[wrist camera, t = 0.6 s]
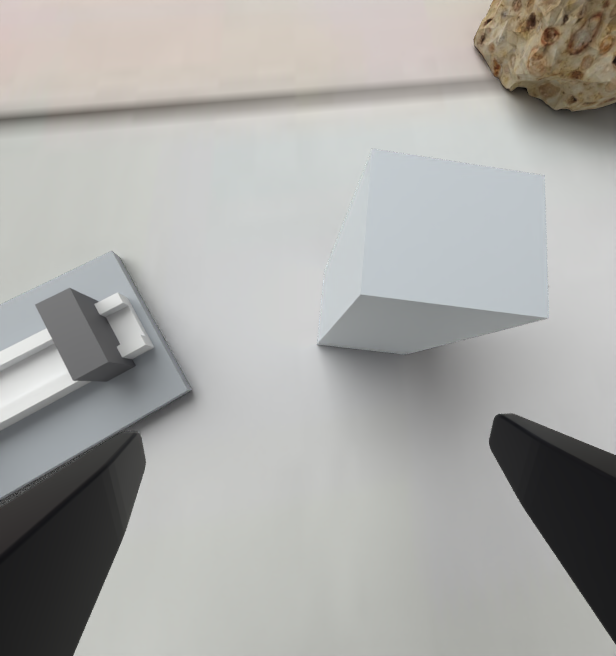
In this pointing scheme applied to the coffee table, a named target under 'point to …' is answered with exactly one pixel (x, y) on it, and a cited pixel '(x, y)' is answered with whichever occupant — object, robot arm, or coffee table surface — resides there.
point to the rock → (553, 50)
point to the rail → (90, 401)
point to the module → (435, 255)
